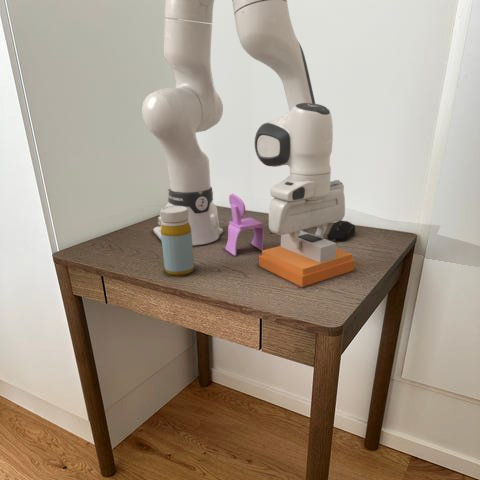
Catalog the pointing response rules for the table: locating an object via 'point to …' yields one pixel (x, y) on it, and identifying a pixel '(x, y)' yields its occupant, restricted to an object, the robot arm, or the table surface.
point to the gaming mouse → (341, 231)
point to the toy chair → (242, 225)
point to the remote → (311, 246)
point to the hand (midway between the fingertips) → (307, 245)
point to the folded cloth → (304, 265)
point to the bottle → (176, 241)
